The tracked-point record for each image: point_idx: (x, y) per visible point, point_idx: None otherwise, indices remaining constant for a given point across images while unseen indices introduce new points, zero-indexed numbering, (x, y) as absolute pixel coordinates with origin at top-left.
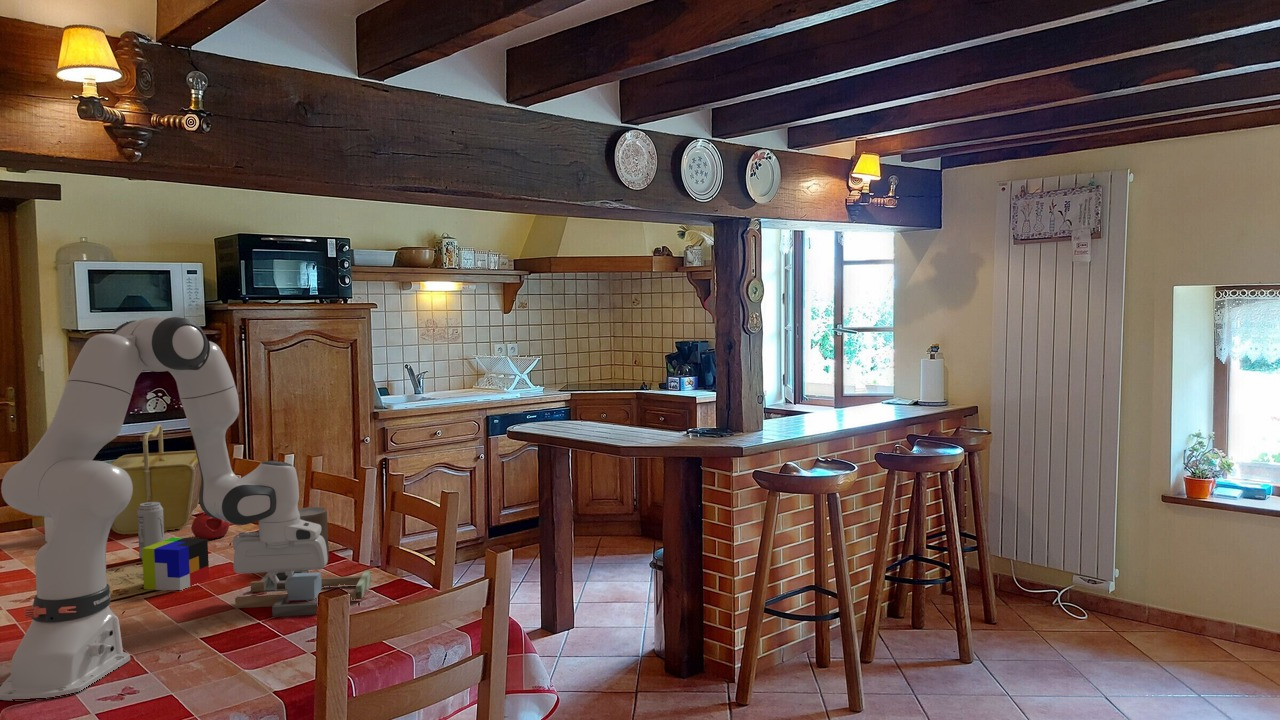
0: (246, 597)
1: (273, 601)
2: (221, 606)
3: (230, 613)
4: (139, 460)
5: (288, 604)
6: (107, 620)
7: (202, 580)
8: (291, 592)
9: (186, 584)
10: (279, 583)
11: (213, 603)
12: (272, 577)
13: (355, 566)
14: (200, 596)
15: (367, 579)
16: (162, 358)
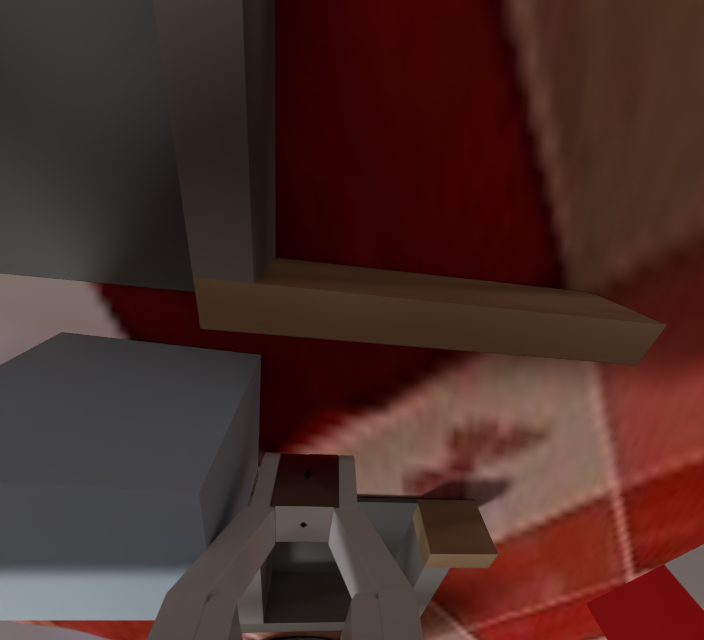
0: (574, 327)
1: (335, 276)
2: (651, 351)
3: (655, 178)
4: None
5: None
6: None
7: (614, 595)
8: (208, 390)
9: (698, 575)
10: (316, 503)
11: (668, 405)
12: (378, 575)
13: (119, 633)
14: (676, 491)
15: None
16: None
